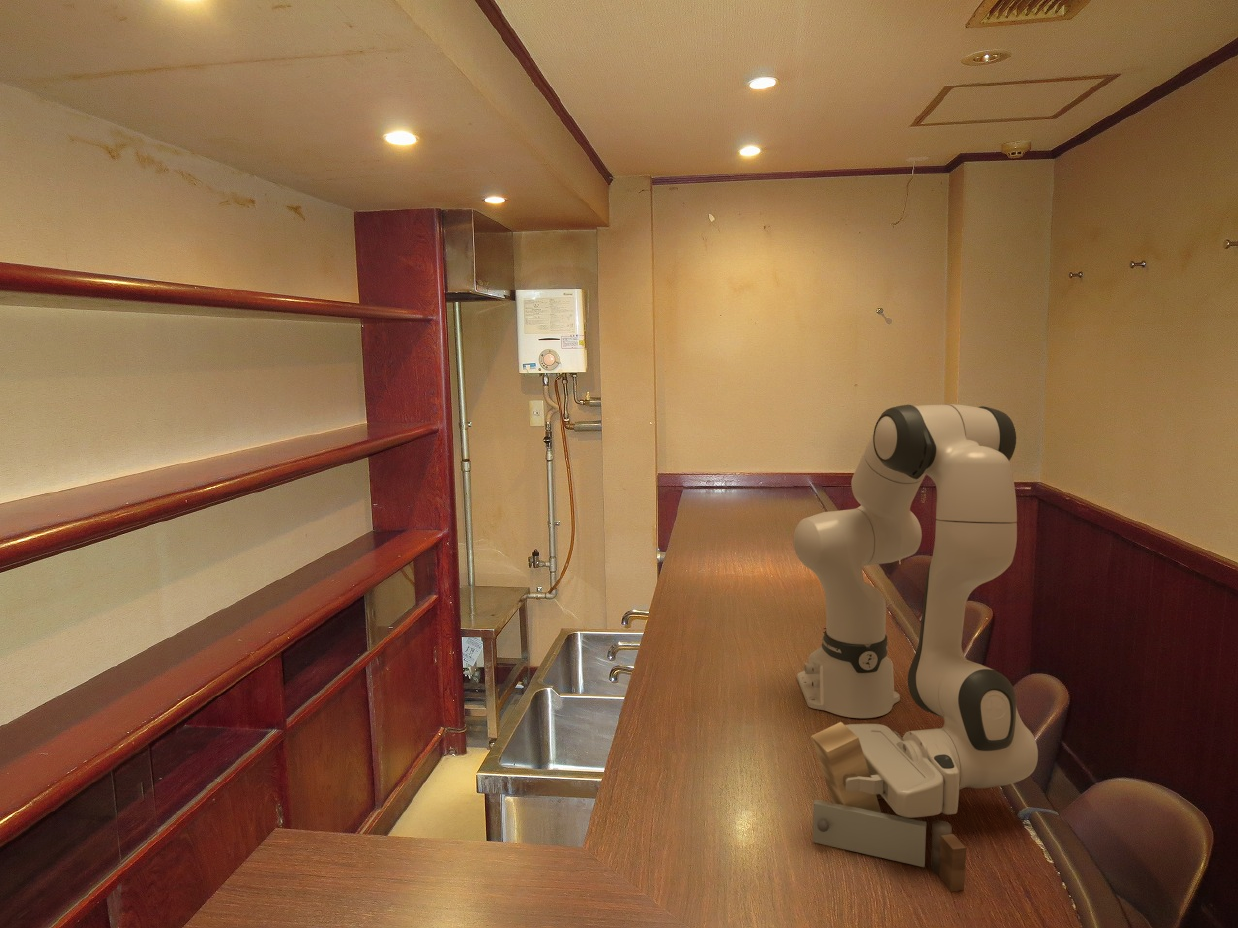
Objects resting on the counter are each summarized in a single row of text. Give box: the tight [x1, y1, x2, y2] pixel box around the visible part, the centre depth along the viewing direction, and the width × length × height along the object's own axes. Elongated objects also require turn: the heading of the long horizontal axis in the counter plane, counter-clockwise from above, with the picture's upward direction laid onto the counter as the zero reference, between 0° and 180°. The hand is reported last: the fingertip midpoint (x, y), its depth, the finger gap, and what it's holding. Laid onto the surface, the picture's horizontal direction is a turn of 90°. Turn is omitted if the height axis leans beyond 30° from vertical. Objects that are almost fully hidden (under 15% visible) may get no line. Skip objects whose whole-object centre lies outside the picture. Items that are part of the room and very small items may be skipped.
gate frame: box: [876, 794, 967, 892], centre depth 119 cm, size 27×2×6 cm, turn 8°
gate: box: [812, 798, 927, 868], centre depth 113 cm, size 15×3×6 cm, turn 66°
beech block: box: [810, 721, 882, 813], centre depth 118 cm, size 5×5×14 cm
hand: (835, 770), depth 117 cm, fingers closed on beech block, 5 cm apart
